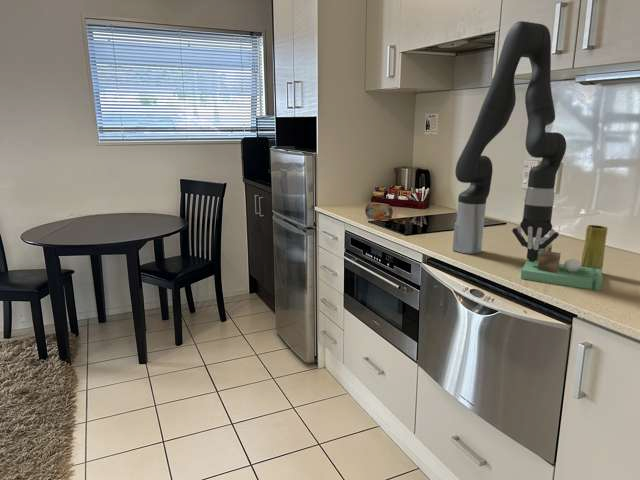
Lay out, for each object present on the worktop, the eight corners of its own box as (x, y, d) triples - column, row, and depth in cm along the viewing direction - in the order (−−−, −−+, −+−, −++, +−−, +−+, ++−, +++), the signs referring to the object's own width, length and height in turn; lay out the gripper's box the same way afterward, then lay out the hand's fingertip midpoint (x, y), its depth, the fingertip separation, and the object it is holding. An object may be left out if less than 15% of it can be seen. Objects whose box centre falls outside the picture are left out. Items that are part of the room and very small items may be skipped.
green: (520, 278, 136) (521, 270, 135) (526, 267, 148) (527, 259, 147) (600, 290, 126) (602, 281, 126) (600, 277, 138) (601, 269, 137)
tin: (364, 218, 226) (365, 201, 224) (369, 217, 228) (369, 200, 226) (389, 223, 215) (389, 205, 213) (393, 222, 217) (394, 204, 215)
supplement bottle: (544, 262, 153) (547, 233, 151) (552, 267, 148) (556, 237, 145) (527, 262, 153) (531, 233, 150) (535, 267, 147) (539, 237, 145)
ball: (570, 257, 132) (582, 267, 131) (572, 253, 135) (584, 263, 134) (559, 266, 135) (571, 276, 133) (562, 263, 138) (574, 272, 136)
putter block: (537, 269, 136) (539, 256, 135) (540, 263, 143) (542, 250, 142) (556, 272, 133) (558, 258, 132) (558, 266, 140) (560, 253, 139)
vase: (580, 274, 141) (587, 227, 138) (577, 269, 146) (584, 224, 143) (603, 276, 139) (611, 229, 136) (599, 271, 144) (607, 225, 141)
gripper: (565, 203, 136) (557, 261, 140) (516, 199, 142) (509, 255, 146) (563, 207, 129) (555, 267, 133) (512, 202, 136) (506, 260, 140)
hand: (531, 261), depth 140 cm, fingers closed
